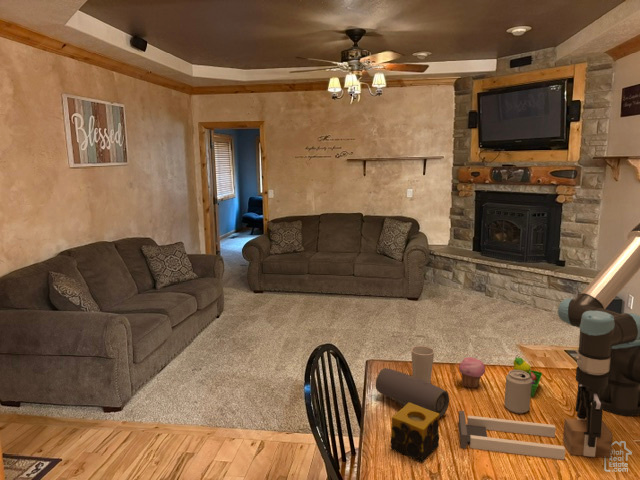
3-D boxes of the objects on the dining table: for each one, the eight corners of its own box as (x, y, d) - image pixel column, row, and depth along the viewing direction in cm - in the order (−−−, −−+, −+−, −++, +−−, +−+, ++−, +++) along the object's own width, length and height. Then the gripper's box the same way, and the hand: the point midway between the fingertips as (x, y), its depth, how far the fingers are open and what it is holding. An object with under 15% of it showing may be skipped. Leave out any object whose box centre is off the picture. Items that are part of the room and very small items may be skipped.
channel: (553, 434, 139) (554, 424, 139) (564, 459, 128) (565, 449, 127) (467, 424, 144) (467, 415, 144) (470, 448, 133) (470, 438, 132)
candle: (407, 432, 140) (408, 401, 139) (439, 445, 134) (441, 413, 132) (389, 449, 133) (390, 416, 131) (422, 464, 126) (423, 429, 125)
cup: (406, 378, 174) (407, 347, 172) (425, 375, 176) (426, 344, 174) (417, 388, 167) (418, 356, 164) (437, 385, 169) (438, 353, 167)
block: (601, 444, 134) (603, 421, 133) (610, 457, 128) (612, 433, 127) (562, 441, 136) (564, 418, 134) (570, 454, 130) (572, 430, 128)
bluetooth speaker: (449, 414, 150) (451, 384, 148) (433, 426, 144) (434, 395, 142) (391, 389, 166) (391, 362, 164) (374, 399, 160) (374, 371, 158)
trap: (484, 425, 144) (485, 413, 143) (489, 451, 131) (490, 438, 131) (458, 422, 145) (459, 410, 145) (460, 447, 133) (461, 434, 132)
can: (531, 415, 149) (534, 379, 147) (506, 413, 150) (508, 377, 148) (526, 403, 156) (529, 369, 154) (502, 401, 158) (504, 367, 156)
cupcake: (460, 377, 175) (462, 351, 173) (485, 382, 171) (487, 356, 169) (455, 388, 167) (457, 361, 165) (481, 393, 163) (483, 366, 161)
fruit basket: (536, 400, 159) (539, 368, 157) (508, 393, 163) (510, 362, 161) (541, 386, 168) (544, 355, 166) (514, 380, 173) (516, 350, 171)
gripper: (567, 353, 138) (561, 427, 142) (588, 384, 119) (580, 468, 123) (596, 355, 136) (589, 430, 140) (621, 387, 118) (612, 472, 122)
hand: (584, 447), depth 132 cm, fingers closed on block, 6 cm apart
